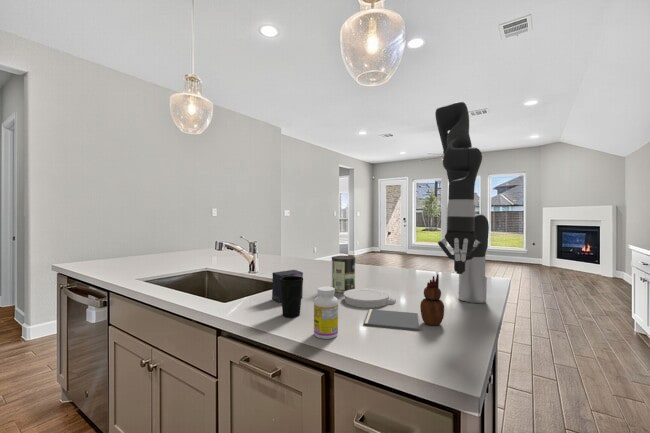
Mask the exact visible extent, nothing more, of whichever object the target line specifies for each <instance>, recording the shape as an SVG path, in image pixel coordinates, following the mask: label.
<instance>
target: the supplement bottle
mask: <svg viewBox="0 0 650 433" xmlns="http://www.w3.org/2000/svg"><path fill="white" fill-rule="evenodd" d="M335 293H336V292H335V289H334V288H333V287H332V286H320V287H318V288H317V295H318V296H316V297H315V299H314V301H313V334H314V336H315V337H316V338H318V339H321V340H329V339H330V340H331V339H334V338H336V337H337V336H338V334H339V300H338V298H337V297H336V296H335Z"/></svg>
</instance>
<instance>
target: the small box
mask: <svg viewBox="0 0 650 433" xmlns="http://www.w3.org/2000/svg"><path fill="white" fill-rule="evenodd" d="M285 276H299V277H302V278H303V279H304V272H303V271H300V270H297V269H289V270H282V271H274V272H272V282H271V283H272V285H271V286H272V288H271V291H272V292H271V299H272V300H273V301H275V302H277V303H281V304H282V300H281V289H280V278H281V277H285ZM303 288H304V287H302V295H304V294H303ZM301 299H303V296H302V297H301Z"/></svg>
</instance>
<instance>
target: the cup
mask: <svg viewBox="0 0 650 433" xmlns="http://www.w3.org/2000/svg"><path fill="white" fill-rule="evenodd" d="M303 284H304V277H303V278H302V277H299V276H285V277H281V278H280V289H281V300H282V303H281V308H282V310H281V311H282V316H283V317H284V318H291V319H292V318H293V319H294V318H298V317H299V316H300V315H301V308H302V307H301V306H302V298H303V294H302V287H303V286H304V285H303ZM303 288H304V287H303ZM301 297H302V298H301Z"/></svg>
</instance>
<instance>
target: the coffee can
mask: <svg viewBox="0 0 650 433" xmlns="http://www.w3.org/2000/svg"><path fill="white" fill-rule="evenodd" d="M355 276H356V257H355V256H351V255H335V256H331V287H333V288H334V289H335V293H343V294H344V292H345V291H347V290H351V289H356V277H355Z"/></svg>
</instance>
